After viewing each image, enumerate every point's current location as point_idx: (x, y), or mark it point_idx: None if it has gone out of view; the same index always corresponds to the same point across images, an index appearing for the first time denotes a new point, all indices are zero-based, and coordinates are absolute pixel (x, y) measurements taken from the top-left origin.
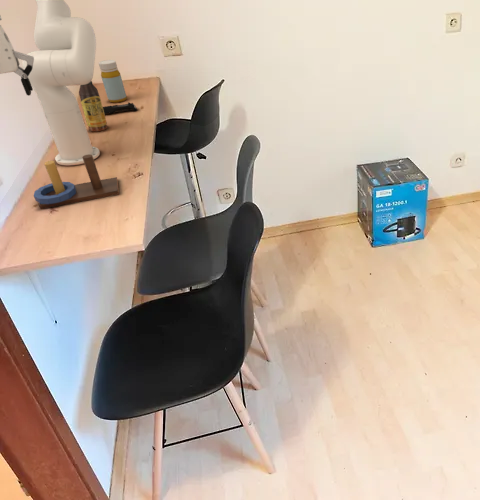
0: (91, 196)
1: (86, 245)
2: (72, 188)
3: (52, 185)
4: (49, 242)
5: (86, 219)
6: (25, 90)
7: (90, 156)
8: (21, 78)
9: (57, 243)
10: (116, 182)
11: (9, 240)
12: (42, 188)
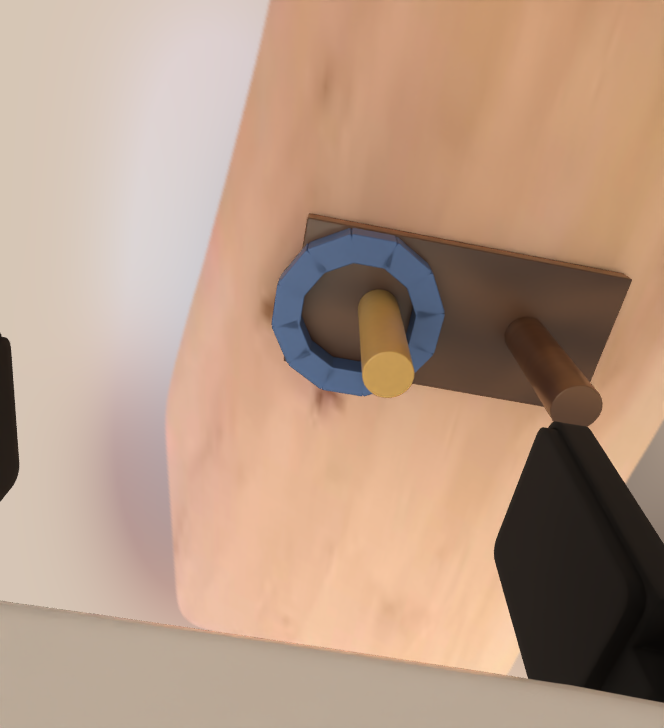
0: (476, 393)
1: (379, 638)
2: (428, 352)
3: (357, 263)
4: (291, 577)
5: (414, 513)
6: (513, 599)
7: (588, 421)
8: (589, 684)
9: (311, 593)
10: (605, 336)
11: (181, 508)
12: (313, 273)
